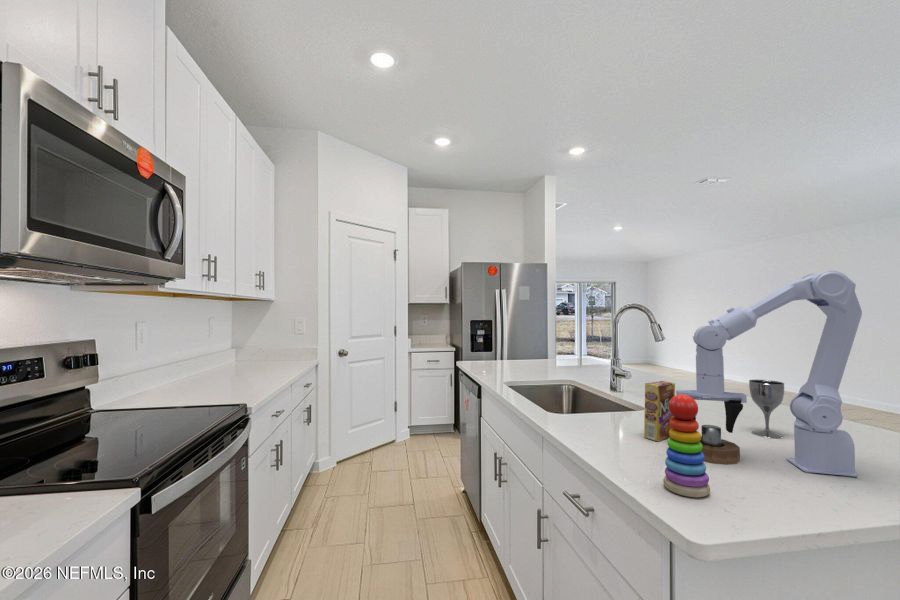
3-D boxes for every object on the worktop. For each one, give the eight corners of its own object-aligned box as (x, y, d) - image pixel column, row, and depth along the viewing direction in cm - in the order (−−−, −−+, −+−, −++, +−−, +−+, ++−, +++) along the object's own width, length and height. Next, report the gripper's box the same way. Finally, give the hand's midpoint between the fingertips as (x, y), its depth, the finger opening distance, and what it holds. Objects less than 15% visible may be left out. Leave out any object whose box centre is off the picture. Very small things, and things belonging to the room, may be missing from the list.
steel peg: (719, 454, 99) (718, 425, 99) (723, 459, 95) (722, 430, 95) (700, 452, 100) (699, 424, 100) (704, 457, 96) (703, 428, 97)
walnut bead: (728, 450, 101) (728, 438, 102) (747, 466, 91) (746, 453, 91) (680, 446, 105) (680, 434, 105) (692, 461, 94) (692, 448, 94)
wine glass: (743, 431, 117) (742, 380, 118) (762, 429, 120) (761, 378, 120) (772, 440, 110) (771, 385, 110) (792, 437, 112) (791, 383, 112)
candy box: (659, 442, 108) (658, 385, 108) (643, 438, 111) (643, 383, 112) (676, 436, 113) (675, 382, 113) (661, 432, 116) (660, 380, 117)
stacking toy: (667, 478, 85) (666, 389, 85) (712, 488, 80) (711, 393, 80) (659, 491, 78) (657, 395, 79) (707, 503, 73) (705, 400, 74)
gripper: (737, 373, 100) (739, 428, 100) (672, 371, 104) (674, 423, 104) (749, 377, 93) (751, 436, 93) (679, 375, 98) (681, 431, 97)
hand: (711, 430), depth 98 cm, fingers open, 7 cm apart
